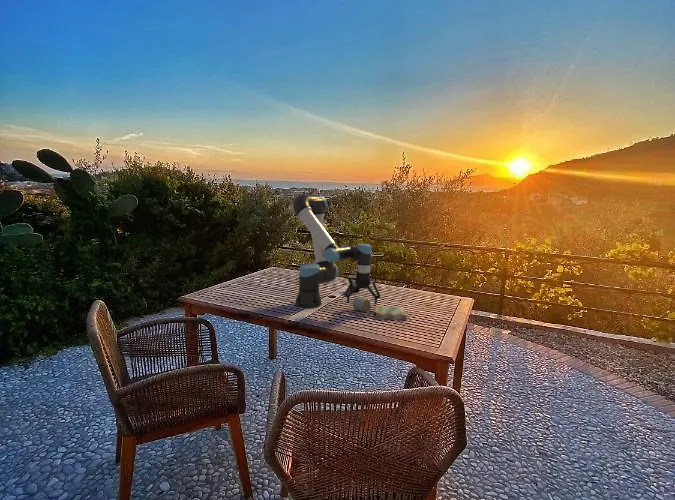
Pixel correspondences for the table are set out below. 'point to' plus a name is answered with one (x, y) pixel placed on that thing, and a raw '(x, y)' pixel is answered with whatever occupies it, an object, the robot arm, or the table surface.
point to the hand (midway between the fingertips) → (361, 308)
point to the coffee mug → (352, 284)
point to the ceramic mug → (361, 304)
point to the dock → (391, 313)
